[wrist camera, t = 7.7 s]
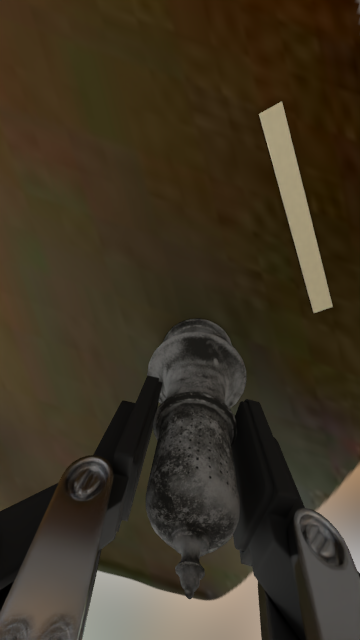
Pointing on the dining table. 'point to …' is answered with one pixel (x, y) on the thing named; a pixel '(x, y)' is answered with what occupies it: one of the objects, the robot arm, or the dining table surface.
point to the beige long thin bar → (295, 204)
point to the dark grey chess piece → (195, 444)
